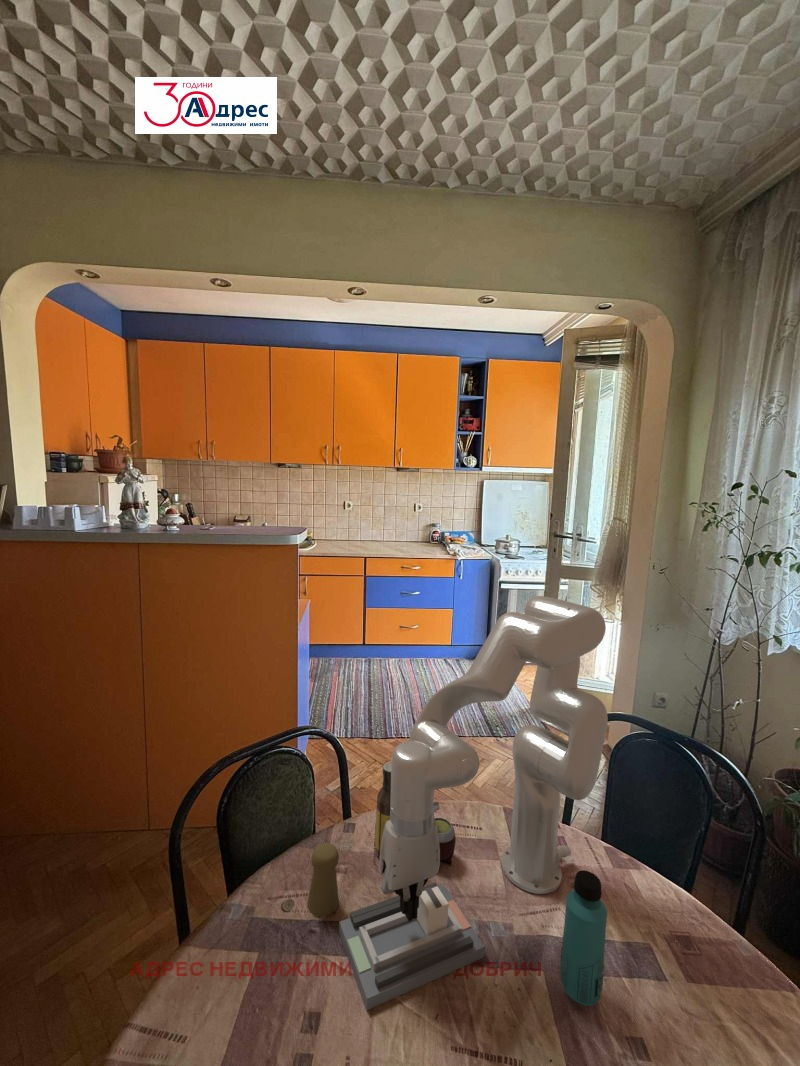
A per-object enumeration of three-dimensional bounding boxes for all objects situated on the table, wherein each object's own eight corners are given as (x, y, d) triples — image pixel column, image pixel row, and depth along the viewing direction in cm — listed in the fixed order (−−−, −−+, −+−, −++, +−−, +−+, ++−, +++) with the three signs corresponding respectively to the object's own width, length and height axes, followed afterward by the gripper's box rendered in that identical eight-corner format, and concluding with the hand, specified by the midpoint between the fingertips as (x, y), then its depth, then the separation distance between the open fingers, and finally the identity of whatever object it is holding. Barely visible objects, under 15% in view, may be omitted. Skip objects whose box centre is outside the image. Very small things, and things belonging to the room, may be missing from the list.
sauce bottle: (408, 854, 103) (413, 768, 101) (387, 868, 98) (392, 779, 97) (388, 837, 107) (393, 756, 106) (368, 851, 103) (372, 766, 102)
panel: (443, 893, 93) (444, 878, 93) (483, 957, 80) (485, 940, 80) (338, 931, 83) (339, 915, 83) (366, 1010, 71) (367, 991, 71)
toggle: (435, 911, 86) (437, 884, 86) (446, 929, 82) (448, 902, 82) (416, 918, 84) (418, 891, 84) (427, 937, 81) (429, 909, 80)
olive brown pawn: (332, 919, 86) (335, 864, 85) (302, 912, 87) (304, 857, 86) (342, 893, 92) (345, 840, 91) (314, 886, 93) (316, 834, 92)
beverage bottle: (597, 1025, 70) (608, 903, 69) (553, 999, 74) (563, 882, 73) (603, 988, 76) (614, 874, 75) (562, 965, 80) (571, 856, 78)
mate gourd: (457, 854, 104) (461, 790, 103) (447, 880, 96) (452, 812, 95) (426, 843, 106) (430, 781, 105) (414, 867, 99) (418, 801, 98)
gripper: (438, 792, 86) (435, 882, 88) (363, 814, 80) (362, 911, 82) (459, 818, 79) (456, 915, 81) (380, 844, 73) (378, 949, 75)
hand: (409, 913), depth 81 cm, fingers closed
